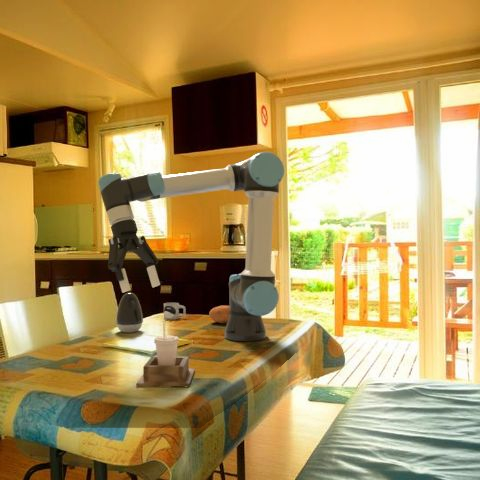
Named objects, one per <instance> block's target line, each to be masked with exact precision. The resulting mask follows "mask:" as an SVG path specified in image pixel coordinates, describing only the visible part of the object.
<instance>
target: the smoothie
mask: <svg viewBox="0 0 480 480" xmlns="http://www.w3.org/2000/svg"><path fill="white" fill-rule="evenodd" d="M162 326H163V327H162V328H163V329H162V331H163V333H162V335H159V336H156V337H155V338H154V342H153V343H154V344H155V350H156V356H157V358H158V365H159V366H175V363H176V357H177V352H178V345H179V343H180V341H179V340H180V339H179V336H177V335H166V320H165V321H163V322H162Z"/></svg>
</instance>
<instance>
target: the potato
mask: <svg viewBox="0 0 480 480" xmlns="http://www.w3.org/2000/svg"><path fill="white" fill-rule="evenodd" d="M208 315H209V317H210V319H211V320H212V321H213V322H216V323H219V324H227V323H228V319H229V315H230V310H229V305H219V306H215V307H213V308H212V309H210V311H209V314H208Z"/></svg>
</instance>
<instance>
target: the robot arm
mask: <svg viewBox="0 0 480 480" xmlns="http://www.w3.org/2000/svg"><path fill="white" fill-rule="evenodd" d="M284 176H285V166H284V163H283V161H282V160H281V159H280V157H279V156H278V155H277V154H275V153H273V152H269V151H262V152H258V153H255V154H253V155H252V156H251V157H249V158H247V159H245V160H243V161H240V162H238V163H232V164H227V166H226V167H224V168H217V169H215V168H214V169H208V170H201V171H193V172H186V173H178V174H175V173H174V174H168V175H163V174H162V173H161V172H160V171H159V170H156V171H149V172H146V173H142V174H139V175H135V176H131V177H130V176H129V177H122V174H120V173H119V172H110V173H105V174H104V175H101V177H100V178H99V179H98V182H97V183H98V187H99V191H100V195H101V199H102V202H103V205H104V209H105V211H106V215H107V219H108V223H109V225H111V226H110V229H111V232H112V236H113V237H111V238H109V239H108V245H109V250H108V261H107V268H108V269H109V270H110V271H111V272H113V273H115V276H116V280H117V281H118V282H119V283H118V284H119V287H120V289H121V293H127V292H129V291H131V290H132V289H131V286H130V283H129V279H128V276H127V271H126V269H125V268H123V265H124V263H125V262H124V261H125V259H126V255H127V253H133V254H136V256H138V258H139V259H140V260H141V261H142V262H143V263H144V264H145V265H146V266H147V267H146V271H147V275H148V277H149V281H150V284H151V287H152V288H155V287H158V286H160V285H161V282H160V279H159V276H158V274H159V273H158V270H157V267H156V265H158V263H159V259H158V257H157V256H156V254H155V253H154V251H153V250H152V248H151V247H150V245H149V244H148V242H147V240H146V237H145V236H144V235H142V236H140V237H138V235H137V233H138V226H137V222H136V221H135V216H134V213H133V210H132V209H133V208H132V206H131V204H130V203H132V202H134V201H135V202H136V201H138V202H141V203H142V202H147V201H151V200H152V201H153V200H159V199H164V198H171V197H173V198H174V197H179V196H180V197H181V196H187V195H194V194H201V193H210V192H216V191H223V190H224V191H225V190H229V191H230V192H239V191H243V192H244V193H243V194H244V195H245V196H247V198H248V203H247V221H246V223H247V224H246V225H247V226H246V227H247V229H246V248H245V267H244V269H243V271H242V272H240V273H238V274H237V273H236V274H231V275H230V276H229V282H228V288H229V291H228V293H229V301H228V302H229V304H228V306H229V310H230V315H229V319H228V323H226V327H225V329H224V338H225V339H227V340H229V341H234V342H254V341H262V340H265V339H266V338H267V330H266V327H265V322H264V320H263V316H266V315H269V314H271V313H272V312H273V311H275V309H276V308H277V305H278V304H279V298H280V296H279V294H280V293H279V291H278V289H277V287H276V286H275V285H276V284H275V283H276V282H275V281H276V275H275V274H274V272H273V271H272V250H273V248H272V247H273V229H274V228H273V226H274V209H275V208H274V201H275V198H276V197H278V196H279V192H280V183H281V182H282V180H283V177H284ZM108 269H107V270H108Z"/></svg>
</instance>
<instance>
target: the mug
mask: <svg viewBox="0 0 480 480" xmlns="http://www.w3.org/2000/svg"><path fill="white" fill-rule="evenodd" d="M179 309H183V313H182V314H180V310H179ZM186 310H187V309H186V306H184V305H181V304H180V303H179V302H164V303H163V320H165V321H167V320H168V321H170V320H172V321H173V320H179V319H180V318H184V317H185V316H186V312H187V311H186Z"/></svg>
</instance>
